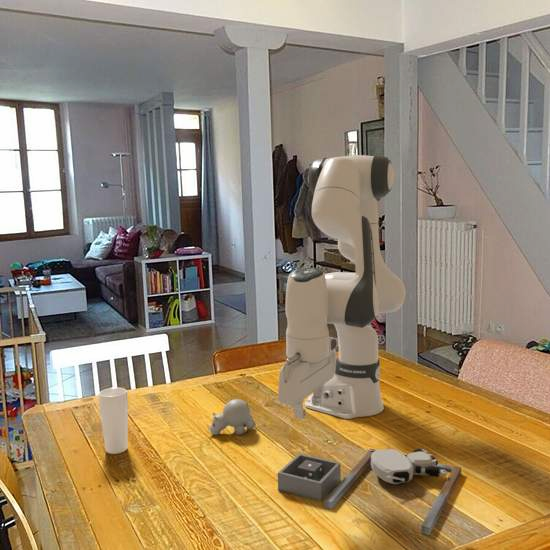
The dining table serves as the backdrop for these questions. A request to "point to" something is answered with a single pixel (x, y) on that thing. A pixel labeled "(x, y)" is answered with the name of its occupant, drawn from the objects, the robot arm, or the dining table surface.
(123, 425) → the drinking glass
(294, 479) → the tray
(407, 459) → the robot toy
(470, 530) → the dining table surface
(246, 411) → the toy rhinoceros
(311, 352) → the robot arm
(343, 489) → the track
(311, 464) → the die
